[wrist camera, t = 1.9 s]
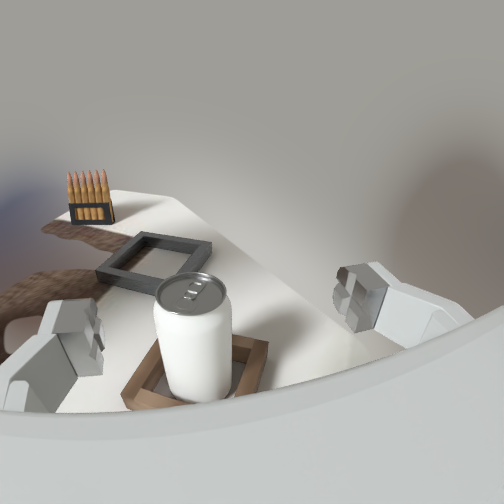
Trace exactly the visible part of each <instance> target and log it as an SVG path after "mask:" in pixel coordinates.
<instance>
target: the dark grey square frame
mask: <svg viewBox="0 0 504 504" xmlns="http://www.w3.org/2000/svg"><path fill="white" fill-rule="evenodd" d="M144 246H149V247H155V248H160V249H166V250H172V251H177V252H183V253H189V254H192V255H191V257H190V258H189V259H188V260H187V261H186V263H185V264H184V265H183V266H182V268H181V269H180V270H179V271H178V272H177V274H180V273H186V272H198V271H199V270H200V268H201V267H202V266H203V264H204V263H205V262H206V260H207V259H208V257H209V256H210V255H211V253H212V242H207V241H200V240H194V239H187V238H181V237H175V236H168V235H162V234H155V233H149V232H143V231H141V232H140V233H138V234H137V235H136V236H135V237H134V238H132V239H131V240H130V241H129V242H127V243H126V244H125V245H124V246H123V247H122V248H120V249H119V250H118V251H117V252H116V253H114V254H113V255H112V256H111V257H110V258H109V259H107V260H106V261H105V262H104V263H103V264H102V265H101V266H99V268H97V269H96V270H95V271H96V275H97V279H98V281H100V282H104V283H107V284H111V285H115V286H118V287H122V288H126V289H130V290H134V291H138V292H142V293H146V294H150V295H154V296H155V294H156V290H157V288H158V286H159V285H160V284H161V283H162V282H163V281H164V279H159V278H155V277H150V276H146V275H141V274H137V273H132V272H128V271H124V270H119V269H120V268H121V267H123V266H124V265H125V264H126V263H127V262H128V261H129V260H130V259H131V258H132V257H133V256H134V255H135V254H136V253H138V252H139V251H140V250H141V249H142V248H143V247H144Z"/></svg>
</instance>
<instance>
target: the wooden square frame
mask: <svg viewBox="0 0 504 504" xmlns="http://www.w3.org/2000/svg"><path fill="white" fill-rule="evenodd" d="M268 343H269V342H267V341H262V340H257V339H252V338H247V337H242V336H238V335H233V334H232V360H235V361H239V362H244V363H246V366H245V369H244V371H243V374H242V377H241V380H240V383H239V385H238V388H237V391H236V394H235V396H234V397H239V396H244V395H249V394H254V393H256V392H257V388H258V385H259V382H260V378H261V375H262V372H263V369H264V365H265V362H266V358H267V352H268ZM164 371H165V368H164V364H163V359H162V355H161V350H160V346H159V341H158V338H157V340H156V341H155V343H154V344H153V345H152V347H151V348H150V350H149V351H148V353H147V354H146V356H145V357H144V359H143V360H142V362H141V363H140V365H139V366H138V368H137V369H136V371H135V372H134V374H133V375H132V377H131V379H130V380H129V382H128V383H127V385H126V386H125V388H124V389H123V391H122V392H121V394H120V395H121V397H122V399H123V401H124V403H125V405H126V408H128V409H130V410H133V411H134V410H146V409H156V408H166V407H174V406H182V405H190V404H187V403H184V402H181V401H178V400H175V399H171V398H168V397H165V396H162V395H159V394H157V393H154V392H152V391H153V390H154V388H155V386H156V384H157V383H158V381H159V379H160V378H161V376H162V374H163V372H164Z"/></svg>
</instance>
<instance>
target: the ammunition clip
mask: <svg viewBox="0 0 504 504" xmlns="http://www.w3.org/2000/svg"><path fill="white" fill-rule="evenodd" d="M94 178H95V179H94V180H95V188H94V184H93V179H92V175H91V172H90V170H89V171H88V176H87V179H88V188H87V184H86V178H85V175H84V172H83V171H82V172H81V188H80V184H79V178H78V175H77V173H76V172H75V173H74V186H75V190H74V187H73V182H72V177H71V175H70V173H69V172H68V175H67V182H68V196H69V202H70V203H69V209H70V217H71V223H72V225H112V224H113V223H114V222H115V217H114V212H113V206H112V201H111V199H110V191H109V187H108V182H107V176H106V173H105V171H104V170H103V171H102V188H101V183H100V178H99V174H98V172H97V170H96V171H95V176H94Z"/></svg>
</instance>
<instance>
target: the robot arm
mask: <svg viewBox="0 0 504 504" xmlns="http://www.w3.org/2000/svg"><path fill="white" fill-rule="evenodd" d="M336 278H337V280H338V282H339V283H338V284H337V285H336V287H335V288H334V292H333V301H334V306H335V308H336V310H337V311H338V312H339V313H340V314H342V315H344V316H346V319H345V322H346V323H347V324H348V326H349V327H350V328H351V330H352V331H353V332H354V333H358V332H362V331H366V330H370V329H374V330H375V331H377V332H379V333H381V334H382V335H384V336H386V337H387V338H389V339H391V340H392V341H394V342H396V343H397V344H399V345H401V346H402V347H404V348H406V349H405V350H403V351H400V352H397V353H395V354H392V355H389V356H387V357H384V358H381V359H378V360H375V361H372V362H369V363H366V364H363V365H360V366H357V367H354V368H350V369H347V370H344V371H341V372H337V373H334V374H330V375H327V376H323V377H320V378H316V379H313V380H309V381H305V382H301V383H297V384H293V385H289V386H285V387H281V388H277V389H272V390H268V391H263V392H258V393H254V394H249V395H244V396H239V397H233V398H228V399H222V400H216V401H210V402H204V403H197V404H190V405H182V406H174V407H166V408H156V409H146V410H134V411H120V412H99V413H55V412H56V410H57V409H58V407H59V406H60V404H61V403H62V401H63V400H64V398H65V397H66V395H67V394H68V392H69V391H70V389H71V388H72V386H73V385H74V384H75V382H76V381H77V379H78V377H85V376H98V375H103V361H104V359H103V356H102V353H101V352H102V351H103V350H104V349H105V335H104V329H103V325H102V321H101V319H99V318H98V317H97V316H96V315H97V306H96V303H95V300H94V299H93V298H83V299H69V300H56V301H50V302H49V303H48V305H47V307H46V310H45V313H44V316H43V319H42V322H41V325H40V328H39V331H38V334H37V335H33V336H32V337H31V338H30V339H28V340H27V341H26V342H25V343H24V344H23V345H22V346H21V347H20V348H18V349H17V350H16V351H15V352H14V353H13V354H12V355H11V356H10V357H9V358H8V359H7V360H5V361H4V362H3V363H2V364H1V365H0V504H504V305H503V306H501V307H499V308H497V309H495V310H493V311H491V312H489V313H487V314H485V315H483V316H481V317H479V318H477V319H474V318H473V317H472V316H470V315H469V314H468V313H467V312H466V311H465V310H464V309H463V308H462V307H461V306H460V305H459V304H458V303H456V302H453V301H450V300H448V299H445V298H443V297H440V296H438V295H435V294H432V293H429V292H427V291H424V290H422V289H419V288H417V287H414V286H411V285H409V284H406V283H403V284H402V283H401V282H400V281H399V280H397V279H396V278H395V277H394V276H393V275H392V274H391V273H390V272H389V271H388V270H386V269H385V268H384V267H383V266H382V265H381V264H380V263H379V262H376V261H373V262H367V263H363V264H359V265H352V266H346V267H340V269H339V270H338V272H337V277H336Z"/></svg>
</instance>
